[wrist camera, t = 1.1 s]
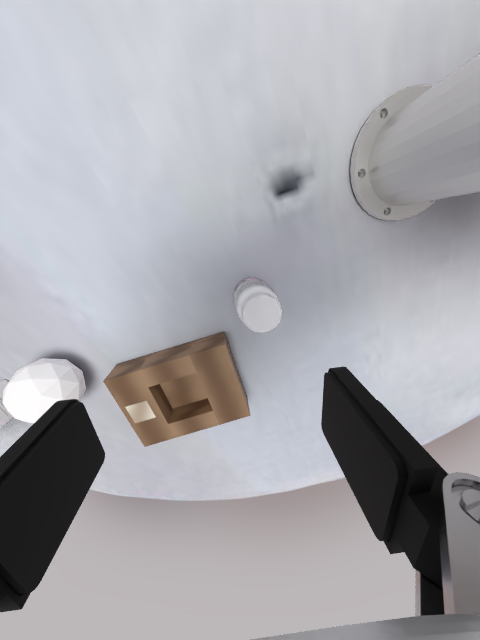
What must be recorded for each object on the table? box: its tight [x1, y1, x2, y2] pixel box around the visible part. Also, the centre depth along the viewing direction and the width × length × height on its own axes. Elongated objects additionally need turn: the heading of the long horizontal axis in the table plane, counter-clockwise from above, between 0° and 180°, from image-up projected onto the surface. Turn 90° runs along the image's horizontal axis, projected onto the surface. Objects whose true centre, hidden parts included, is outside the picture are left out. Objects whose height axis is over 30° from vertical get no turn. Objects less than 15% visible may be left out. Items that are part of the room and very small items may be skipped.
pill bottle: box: [233, 278, 282, 333], centre depth 26 cm, size 5×5×8 cm
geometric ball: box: [3, 358, 86, 423], centre depth 28 cm, size 8×8×8 cm
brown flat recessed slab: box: [104, 332, 250, 447], centre depth 31 cm, size 16×12×4 cm
